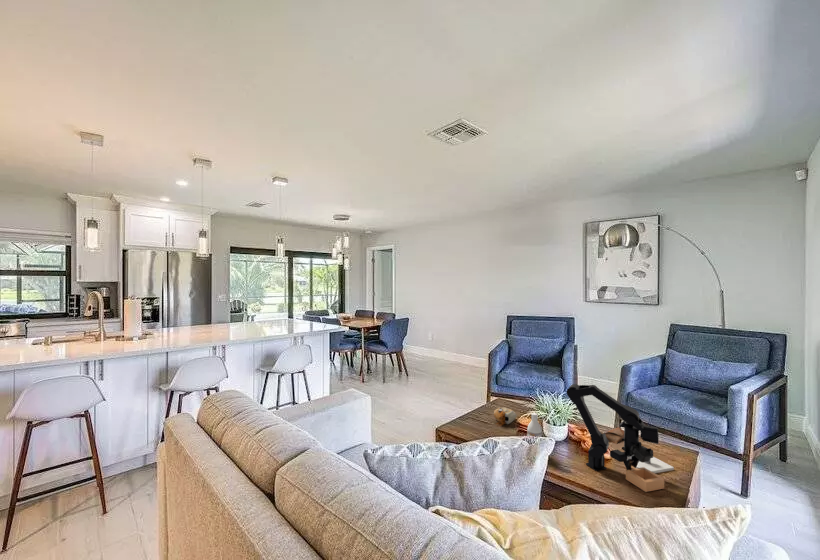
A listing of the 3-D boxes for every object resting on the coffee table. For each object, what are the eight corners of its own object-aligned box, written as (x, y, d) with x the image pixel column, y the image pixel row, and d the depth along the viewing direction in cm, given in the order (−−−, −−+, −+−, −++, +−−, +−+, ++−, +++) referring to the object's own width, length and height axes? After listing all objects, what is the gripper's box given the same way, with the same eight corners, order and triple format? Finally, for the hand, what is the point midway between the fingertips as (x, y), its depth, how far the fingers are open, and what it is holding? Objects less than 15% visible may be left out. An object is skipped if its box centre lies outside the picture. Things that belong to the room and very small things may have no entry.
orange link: (645, 491, 156) (645, 482, 156) (618, 474, 169) (618, 465, 169) (664, 488, 158) (664, 478, 158) (636, 471, 172) (636, 462, 172)
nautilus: (506, 432, 217) (483, 426, 227) (521, 419, 233) (499, 414, 243) (505, 418, 217) (482, 413, 226) (520, 406, 233) (498, 402, 243)
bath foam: (524, 451, 192) (524, 412, 192) (534, 448, 195) (535, 410, 195) (533, 457, 186) (534, 417, 186) (544, 454, 189) (544, 415, 188)
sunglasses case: (616, 444, 200) (610, 431, 203) (605, 446, 205) (599, 434, 208) (632, 436, 211) (626, 424, 213) (621, 438, 215) (615, 426, 218)
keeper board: (646, 474, 170) (646, 463, 170) (621, 460, 183) (621, 449, 183) (673, 469, 174) (673, 458, 174) (647, 455, 188) (647, 445, 188)
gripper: (629, 448, 158) (629, 485, 158) (664, 443, 163) (663, 478, 163) (609, 437, 169) (608, 471, 169) (641, 432, 174) (641, 466, 174)
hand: (631, 472), depth 169 cm, fingers closed on orange link, 2 cm apart
